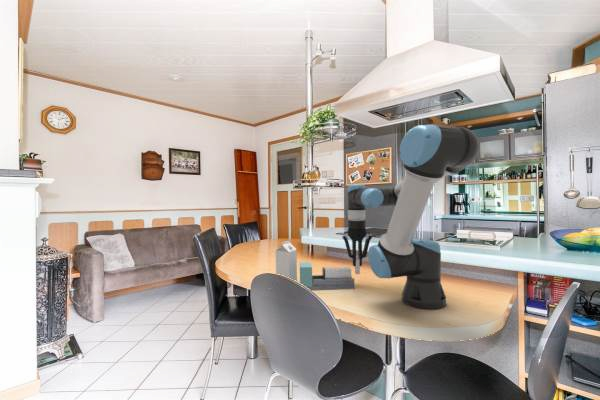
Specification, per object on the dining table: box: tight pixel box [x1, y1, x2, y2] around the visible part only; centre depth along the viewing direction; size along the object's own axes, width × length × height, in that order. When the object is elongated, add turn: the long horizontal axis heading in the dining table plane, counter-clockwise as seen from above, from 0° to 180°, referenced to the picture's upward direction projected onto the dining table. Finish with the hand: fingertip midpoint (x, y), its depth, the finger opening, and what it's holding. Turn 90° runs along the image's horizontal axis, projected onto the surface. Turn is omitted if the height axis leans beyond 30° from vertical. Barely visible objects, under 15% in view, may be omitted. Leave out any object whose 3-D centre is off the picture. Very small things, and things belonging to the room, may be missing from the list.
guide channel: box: [307, 274, 356, 291], centre depth 130 cm, size 9×23×4 cm, turn 91°
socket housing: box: [299, 261, 313, 287], centre depth 130 cm, size 9×5×8 cm, turn 1°
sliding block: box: [321, 266, 352, 279], centre depth 130 cm, size 4×12×6 cm, turn 91°
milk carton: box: [275, 240, 298, 282], centre depth 137 cm, size 7×7×19 cm
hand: (357, 273), depth 131 cm, fingers closed
